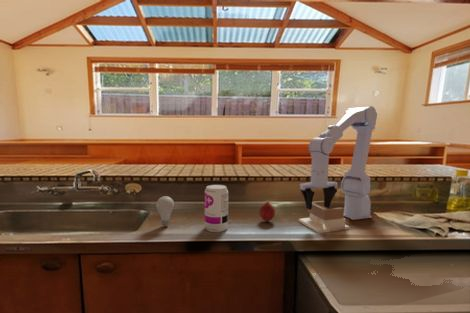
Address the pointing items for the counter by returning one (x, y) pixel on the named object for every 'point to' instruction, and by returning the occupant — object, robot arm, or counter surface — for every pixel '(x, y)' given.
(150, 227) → the counter surface
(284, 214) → the counter surface
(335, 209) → the tan c-shaped bracket
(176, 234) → the counter surface
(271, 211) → the onion
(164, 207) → the lightbulb
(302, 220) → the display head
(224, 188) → the supplement can
